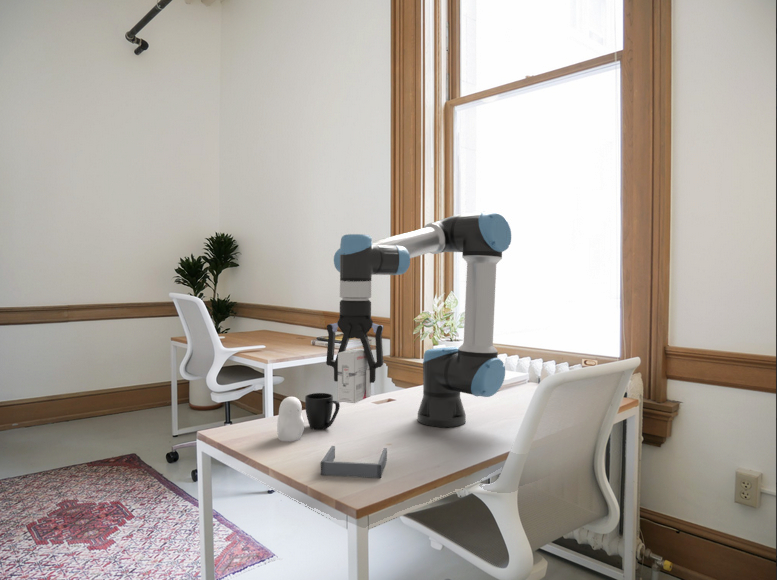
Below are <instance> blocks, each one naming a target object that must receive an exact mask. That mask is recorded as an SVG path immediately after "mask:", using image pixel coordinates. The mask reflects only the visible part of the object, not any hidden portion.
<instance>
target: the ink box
mask: <svg viewBox="0 0 777 580" xmlns="http://www.w3.org/2000/svg"><path fill="white" fill-rule="evenodd" d="M337 354H338V382H337V401H338V402H339V403H340V402H341V403H349V404H356V403H359V402H361V401H363V400H366V399H368V398H369V397H366V370H367V369H368V368H369V365H368V361H367V358H366V355H365V351H364V348H353V349H352V348H351V349H348V350H347V349H346V350H345V351H343V352H339V353H338V352H337Z"/></svg>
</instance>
